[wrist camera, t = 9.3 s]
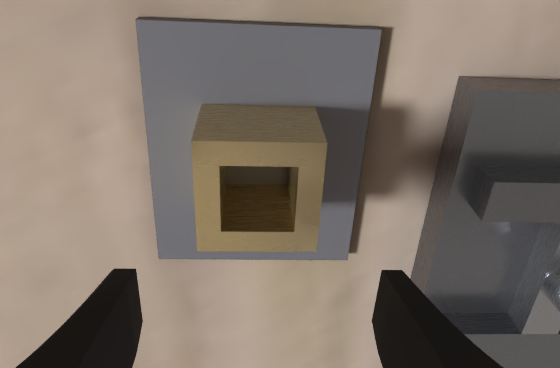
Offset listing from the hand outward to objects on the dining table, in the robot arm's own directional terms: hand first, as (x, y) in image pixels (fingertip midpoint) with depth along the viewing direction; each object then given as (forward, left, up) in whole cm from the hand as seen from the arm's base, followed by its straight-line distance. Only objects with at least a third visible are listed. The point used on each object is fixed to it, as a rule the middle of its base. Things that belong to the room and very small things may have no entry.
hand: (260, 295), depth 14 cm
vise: (-4, -15, -10) cm, 18 cm away
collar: (0, 0, -9) cm, 9 cm away
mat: (0, 0, -10) cm, 10 cm away
